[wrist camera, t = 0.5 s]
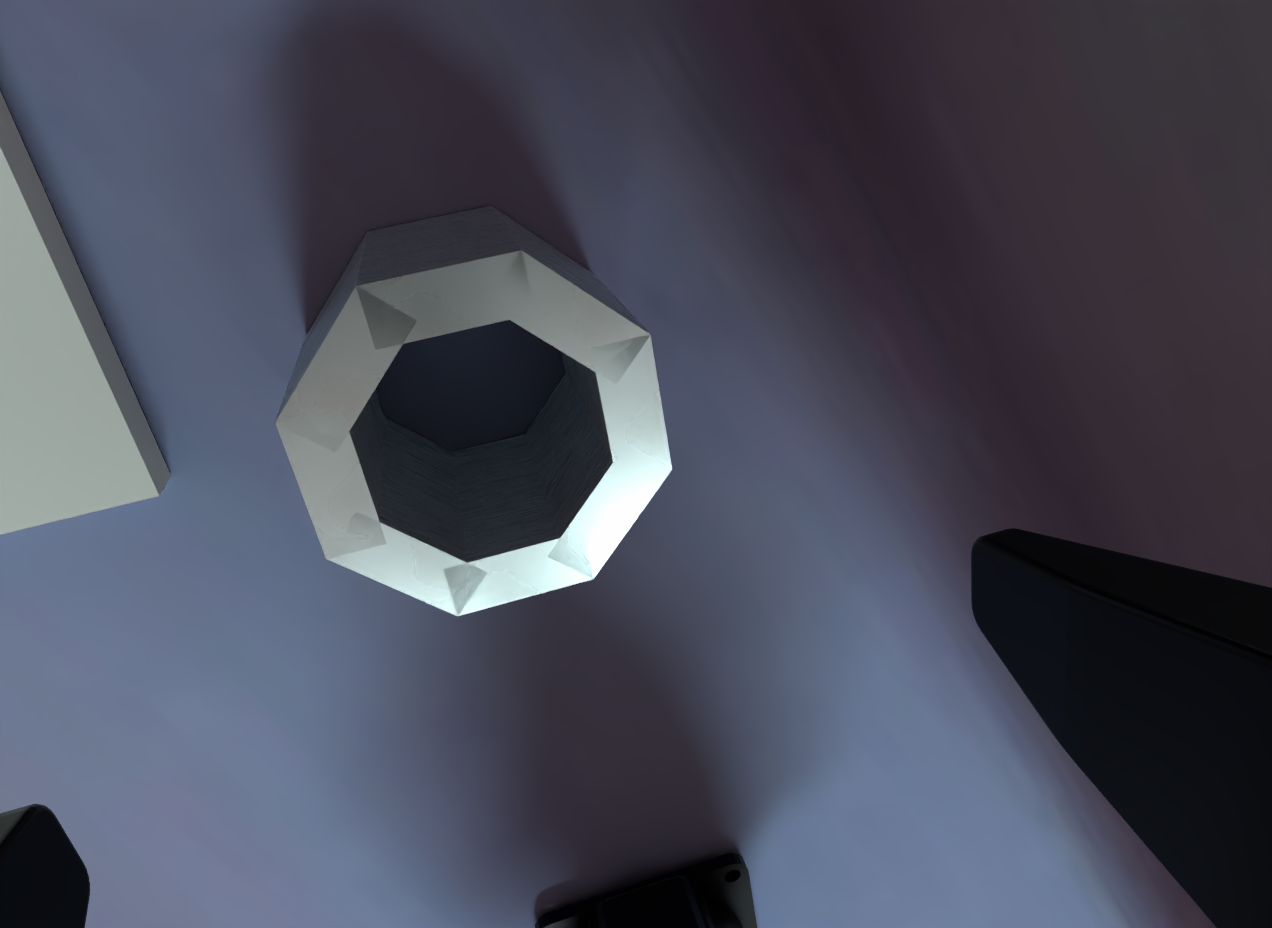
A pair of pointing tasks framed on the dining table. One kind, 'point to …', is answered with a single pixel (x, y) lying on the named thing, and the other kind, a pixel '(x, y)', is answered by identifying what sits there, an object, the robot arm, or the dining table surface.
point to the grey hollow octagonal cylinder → (485, 474)
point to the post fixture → (58, 371)
